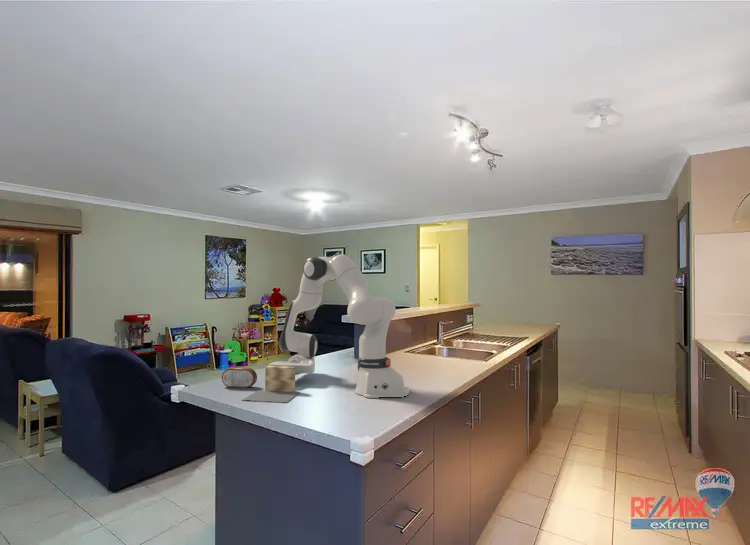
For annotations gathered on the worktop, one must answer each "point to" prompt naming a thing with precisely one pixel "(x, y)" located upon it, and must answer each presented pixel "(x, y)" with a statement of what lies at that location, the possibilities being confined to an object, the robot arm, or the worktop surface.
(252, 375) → the bluetooth speaker
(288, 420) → the worktop surface
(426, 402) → the worktop surface
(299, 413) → the worktop surface
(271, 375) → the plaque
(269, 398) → the mat
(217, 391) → the worktop surface
